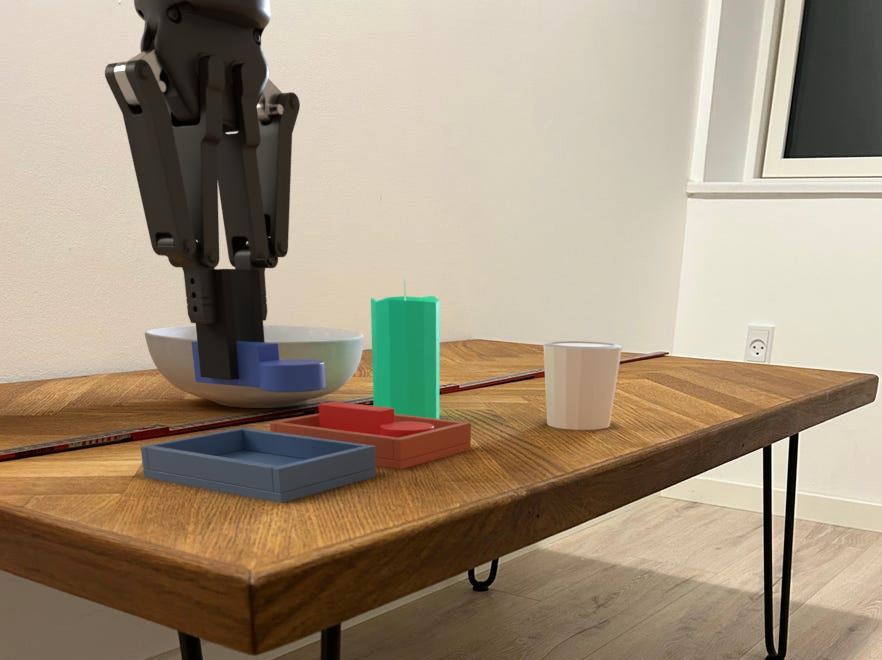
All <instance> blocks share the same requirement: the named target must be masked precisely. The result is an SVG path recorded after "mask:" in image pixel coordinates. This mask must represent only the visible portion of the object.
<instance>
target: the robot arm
mask: <svg viewBox="0 0 882 660" xmlns="http://www.w3.org/2000/svg"><path fill="white" fill-rule="evenodd" d="M133 5H134V10H135V12H136V13H137V14H138V16H139V17H140V19H142V20H143V21H144V28H143V33H142V36H141V39H140V46H139V47H140V48H139V49H140V52H139V53H138V54H137V55H135V56H133V57H132V58H130V59H127V60H126V61H119V62H111V63H108V64H107V65H106V66H105V69H104V78H105V80H106V83H107V85H108V87H109V89H110V92H111V93H112V95H113V97H114V99H115V101H116V103H117V106H118V108H119V109H120V112H121V114H122V118H123V122H124V126H125V127H124V128H125V131H126V136H127V140H128V145H129V150H130V154H131V159H132V163H133V168H134V173H135V177H136V181H137V185H138V191H139V195H140V200H141V204H142V208H143V212H144V217H145V222H146V226H147V231H148V235H149V240H150V244H151V248H152V251H153V252H154V253H155V255H157V256H161V257H167V259H168V262H169V263H170V265H171V266H172V267H174V268H182V272H183V278H184V288H185V297H186V299H185V301H186V307H187V316H188V319H189V321H190V323H191V324H195V325H196V332H197V343H198V353H199V364H200V374H201V377H206V378H216V379H226V380H234V379H239V372H238V360H237V348H236V344H237V341H247V342H264V328H263V325H264V321H265V322H266V321H267V316H268V303H267V301H268V300H267V299H268V298H267V288H266V287H267V285H266V269H275V268H276V267H277V266H278V263H279V258H285V257H286V256H287V254H288V252H289V232H290V231H289V230H290V204H291V179H292V177H291V176H292V148H293V133H294V129H295V126H296V124H297V119H298V116H299V112H300V107H301V103H300V99H299V96H298V95H297V93H295V92H291V91H290V92H282V91H281V90H280V89H279V88H278V87H277V86H276V84H274V83H273V81H272V80H271V79H270V78H269V77H270V76H269V75H270V74H269V73H270V72H269V66H268V61H267V59H266V56H265V55H264V50H263V46H262V35H263V33H264V30H265V29H266V28H267V26H268V25H269V24H270V21H271V15H272V14H271V0H133ZM219 200H220V206H221V213H222V214H221V215H222V220H223V228H224V235H225V241H226V248H227V255H228V261H229V264H230V265H231V266H232V267H233V268H216V267H218V266H219V263H220V228H219V226H220V225H219V223H220V222H219Z"/></svg>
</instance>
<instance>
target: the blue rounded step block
mask: <svg viewBox="0 0 882 660" xmlns="http://www.w3.org/2000/svg"><path fill="white" fill-rule="evenodd" d="M191 343H192V352H193V361H194V371H195V380H196V382H199V383H210V384H222V385H234V386H245V387H257V388H261V390H264V391H270V392H307V391H316V390H321V389H324V388H325V373H324V362H323V361H320V360H310V359H283V360H279V347H278V343H265V342H247V341H237V344H236V348H237V360H238V372H239V379H234V380H226V379H216V378H206V377H201V374H200V364H199V353H198V343H197V341H192V342H191Z"/></svg>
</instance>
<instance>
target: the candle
mask: <svg viewBox="0 0 882 660" xmlns="http://www.w3.org/2000/svg"><path fill="white" fill-rule="evenodd" d="M403 286H404V287H403V291H404V295H403V296H387V297H383V298H381V299H378V300H377V299H376V298H374V297H373V298H370V320H371V321H370V322H371V323H370V325H371V359H372V361H371V364H372V400H373V401H372V403H373V405H372V406H378V407H387V408H394V414H400V415H409V416H418V417H426V418H435V419H440V299H439V298H437V297H436V296H434V295H429V296H421V297H419V296H408V295H407V279H404V280H403Z"/></svg>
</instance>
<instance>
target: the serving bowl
mask: <svg viewBox="0 0 882 660" xmlns="http://www.w3.org/2000/svg"><path fill="white" fill-rule="evenodd" d="M263 328H264V342H265V343H278V347H279V360H283V359H310V360H320V361H323V362H324V373H325V388H324V389H321V390H316V391H307V392H270V391H264V390H261V388H257V387H245V386H234V385H222V384H210V383H199V382H196V380H195V371H194V361H193V352H192V343H191V342H192V341H197V332H196V324H195V325H177V326H166V327H159V328H158V327H157V328H151V329H148V330H145V332H144V338H145V342H146V345H147V349H148V352H149V355H150V357H151V360H152V362H153V364H154V365H155V367H156V369H157V370H158V372H159V373H160V374H161V376H162V377H163V378H164V379H165V380H167V382H168V383H170V384H171V385H172V386H173V387H175V388H177V389H179V390H180V391H182V392H184V393H187V394H189V395H192V396H194V397H198V398H201V399H205V400H209V401H212V402H214V403H215V404H217V405H221V406H223V407H228V408H229V407H230V408H242V409H275V408H276V409H277V408H289V407H295V406H300V405H303V404H305V403H307V402H308V401H310V400H314V399H318V398H321V397H324V396H327V395H330V394H332V393H335V392H336V391H338V390H340V389H341V388H343V387H344V386H345V385H346V384H348V382H349V381H350V380H351V379H352V377H354V375H355V374H356V372H357V371H358V368H359V365H360V363H361V359H362V357H363V351H364V350H363V349H364V341H365V336H364V334H363V333H361V332H358V331H353V330H349V329H343V328H342V329H341V328H332V327H323V326H308V325H307V326H306V325H286V324H285V325H283V324H263Z"/></svg>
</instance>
